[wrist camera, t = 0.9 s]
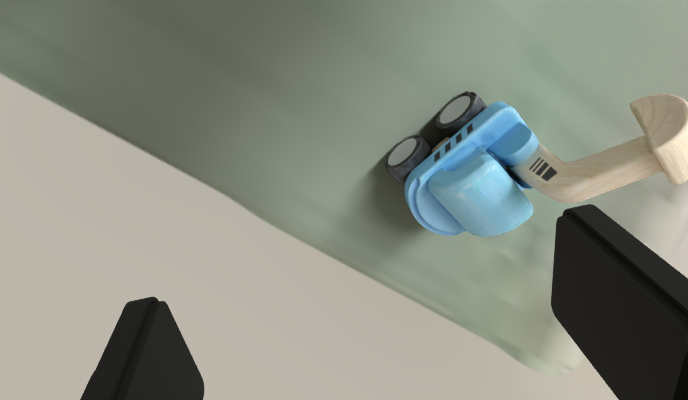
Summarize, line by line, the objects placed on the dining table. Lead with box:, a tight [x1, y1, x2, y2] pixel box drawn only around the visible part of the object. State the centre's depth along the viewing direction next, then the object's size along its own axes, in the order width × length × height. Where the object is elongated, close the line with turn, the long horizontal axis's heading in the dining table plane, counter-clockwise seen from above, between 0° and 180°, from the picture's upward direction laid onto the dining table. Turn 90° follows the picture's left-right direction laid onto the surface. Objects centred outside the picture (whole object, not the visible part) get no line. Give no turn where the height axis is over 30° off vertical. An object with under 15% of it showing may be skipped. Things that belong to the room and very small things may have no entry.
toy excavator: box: [385, 92, 688, 237], centre depth 33 cm, size 9×17×17 cm, turn 132°
